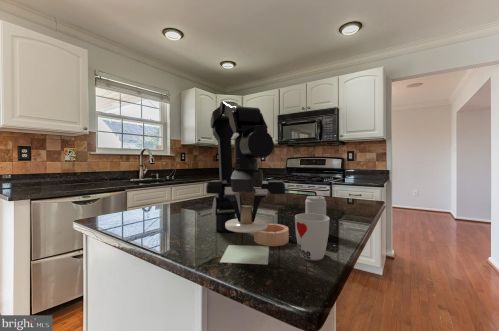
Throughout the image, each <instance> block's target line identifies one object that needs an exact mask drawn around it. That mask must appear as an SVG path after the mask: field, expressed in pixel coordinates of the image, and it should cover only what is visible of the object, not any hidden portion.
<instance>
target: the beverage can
mask: <svg viewBox="0 0 499 331" xmlns="http://www.w3.org/2000/svg"><path fill="white" fill-rule="evenodd" d="M304 210H305V212H304V213H313V214H321V215H325V216H327V200H326V198H325V196H321V195H308V196H306V199H305V209H304Z"/></svg>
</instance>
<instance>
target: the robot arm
mask: <svg viewBox="0 0 499 331" xmlns="http://www.w3.org/2000/svg"><path fill="white" fill-rule="evenodd" d="M264 118H265V117H264V115H263V113H262V112H261V109H260V108H259V107H251V106H249V107H248V106H242V105H240V104H238V103H237V102H235V101H226V100H225V101H221V102H220V103H219V106H218V107H217V108H216V109H214V110H213V111H212V113H211V117H210V128H211V130H212V135H213V137H214V138H215V140H216V141H217V150H218V151H217V152H218V170H219V179H218V180H217V179H215V180H214V179H213V180H210V181H208V182H207V183H206V186H205V192H206V194H210V195H211V194H212V195H213V194H215V196H214V197H213V202H212V207H211V208H212V214H214V216H215V222H216V223H215V226H216V227H215V231H214V234H235V233H236V232H234V231H230V230H228V229H226V228H225V223H226V222H227V221H229V220H232V219H238V222H240V207H241V206H242V205H243V204H242V203H243V199H242V196H241V194H240V192H244V193H253V192H255V193H254V195H253V205H252V222H254V220H255V218H256V216H257V212H258V209H259V206H260V204H261V202H262V200H263V198H264V199H265V198H267V197H268V192H269V193H270V194H271V195H285V194H286V183H285V182H284V181H283V180H278V179H277V180H276V179H274V180H271V179H270V180H268V182H265V183H264V181H263V169H259V168H258V167H259V166H258V165H259V162H258V160H259V159H264V158H266V157H268V156H270V155H271V153H273V151H274V146H275V143H274V140H273V137H272V136H271V134H270V133H269V132H268V128H269V127H268V125H267V123H266V121H265V119H264ZM234 134H236V135H235V136H234ZM233 136H234V138H233ZM232 138H233V139H234V140H233V141H234V142H233V144H234V153H233V151H232V150H233V149H232ZM233 154H234V156H233ZM233 157H234V162H233ZM233 163H234V164H233ZM233 166H234V167H233Z"/></svg>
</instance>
